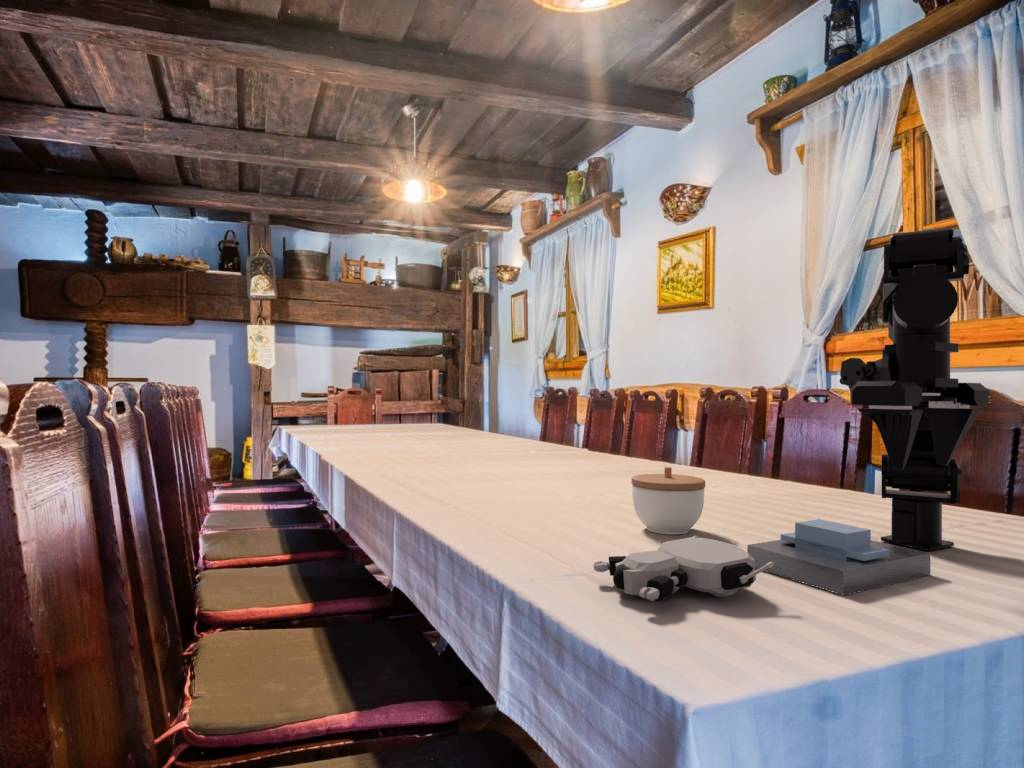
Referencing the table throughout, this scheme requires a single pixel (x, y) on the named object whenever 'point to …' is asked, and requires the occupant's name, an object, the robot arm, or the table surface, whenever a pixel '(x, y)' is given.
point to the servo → (834, 540)
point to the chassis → (841, 566)
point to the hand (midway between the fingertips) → (920, 467)
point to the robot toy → (683, 569)
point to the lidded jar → (668, 501)
